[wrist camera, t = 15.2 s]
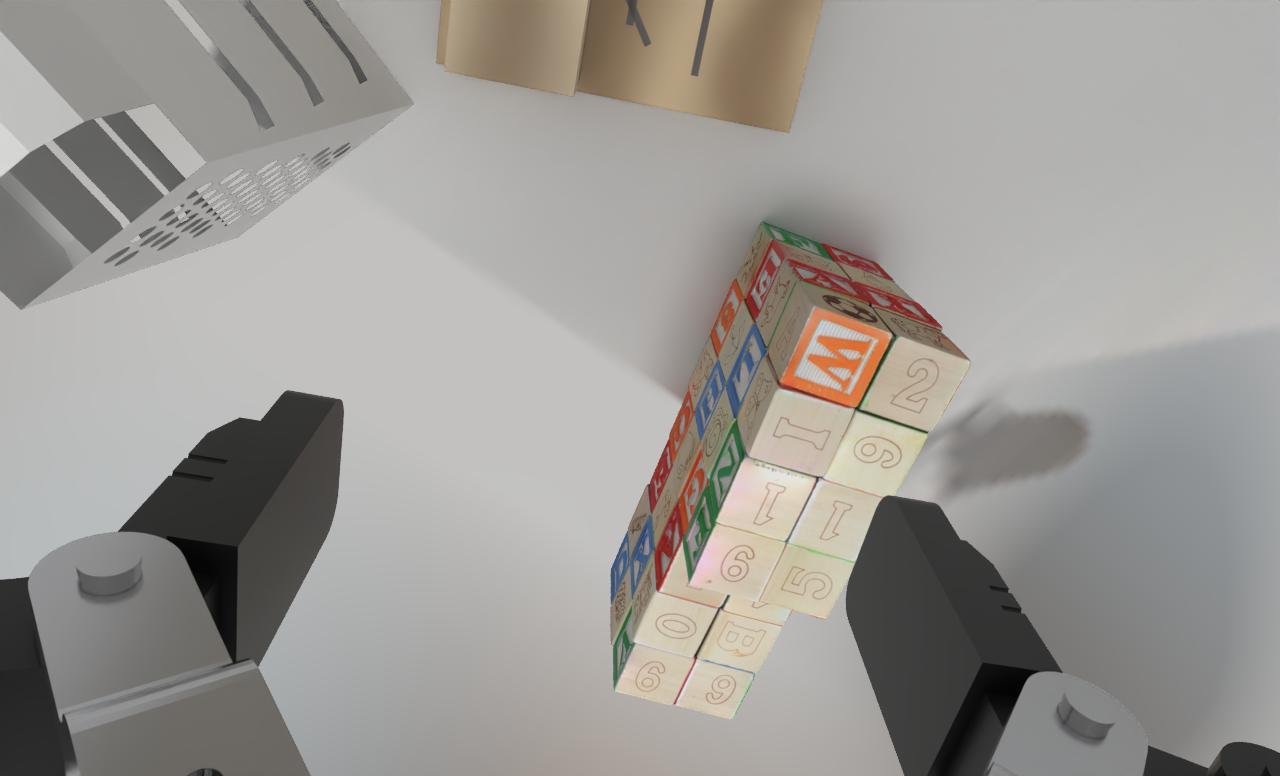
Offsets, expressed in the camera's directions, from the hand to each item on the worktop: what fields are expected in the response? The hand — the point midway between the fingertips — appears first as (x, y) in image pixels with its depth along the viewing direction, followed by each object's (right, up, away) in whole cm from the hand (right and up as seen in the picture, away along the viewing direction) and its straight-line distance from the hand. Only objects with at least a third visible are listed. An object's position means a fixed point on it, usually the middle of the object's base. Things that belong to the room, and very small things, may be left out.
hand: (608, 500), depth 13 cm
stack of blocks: (+5, 0, +32) cm, 33 cm away
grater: (-17, +15, +24) cm, 33 cm away
